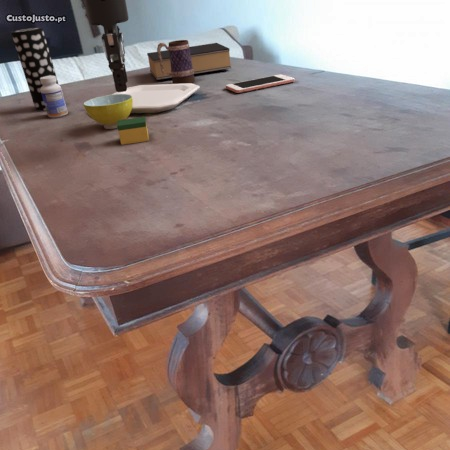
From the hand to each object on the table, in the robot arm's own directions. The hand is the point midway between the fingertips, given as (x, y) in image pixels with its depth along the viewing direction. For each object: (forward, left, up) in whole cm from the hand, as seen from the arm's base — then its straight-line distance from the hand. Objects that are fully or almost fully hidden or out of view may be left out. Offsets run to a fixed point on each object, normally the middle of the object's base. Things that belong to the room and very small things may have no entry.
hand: (122, 87), depth 97 cm
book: (+19, +70, -11) cm, 74 cm away
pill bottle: (-21, +34, -11) cm, 42 cm away
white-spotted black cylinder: (-25, +46, -11) cm, 54 cm away
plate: (+4, +33, -11) cm, 35 cm away
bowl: (-5, +14, -11) cm, 19 cm away
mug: (+14, +53, -11) cm, 56 cm away
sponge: (0, 0, -11) cm, 11 cm away
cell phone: (+36, +35, -11) cm, 52 cm away
